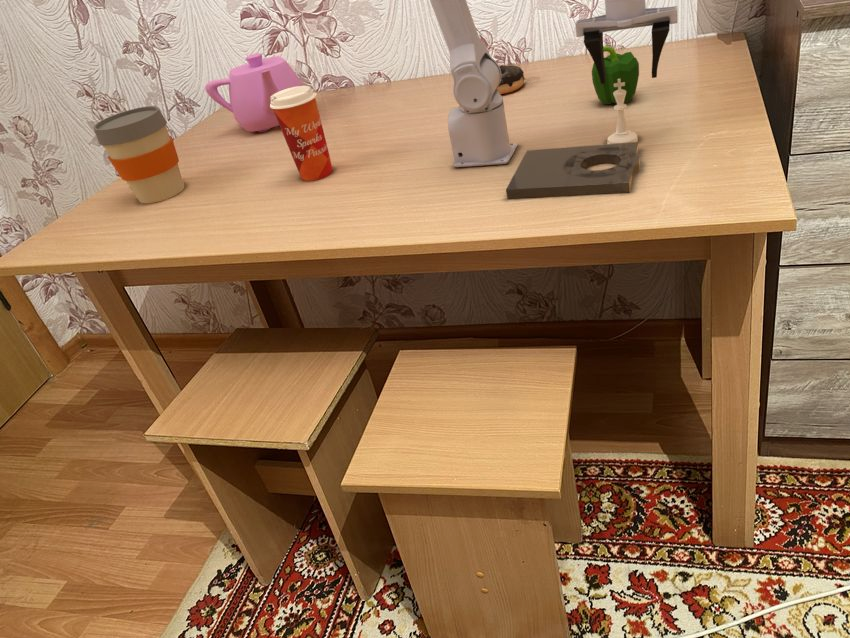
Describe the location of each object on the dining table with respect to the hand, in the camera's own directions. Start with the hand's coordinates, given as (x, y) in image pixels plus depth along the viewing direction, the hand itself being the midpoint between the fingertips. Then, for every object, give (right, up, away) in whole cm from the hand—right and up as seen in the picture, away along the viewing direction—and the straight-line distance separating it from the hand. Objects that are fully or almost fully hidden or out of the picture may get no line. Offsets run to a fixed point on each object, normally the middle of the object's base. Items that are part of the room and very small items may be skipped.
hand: (628, 78), depth 107 cm
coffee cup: (-53, -9, +22) cm, 58 cm away
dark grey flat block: (-8, -15, 0) cm, 17 cm away
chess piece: (+1, -8, +7) cm, 10 cm away
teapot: (-69, +11, +55) cm, 89 cm away
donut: (-18, +14, +43) cm, 49 cm away
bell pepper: (+3, +5, +23) cm, 24 cm away
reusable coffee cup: (-85, -11, +29) cm, 90 cm away
